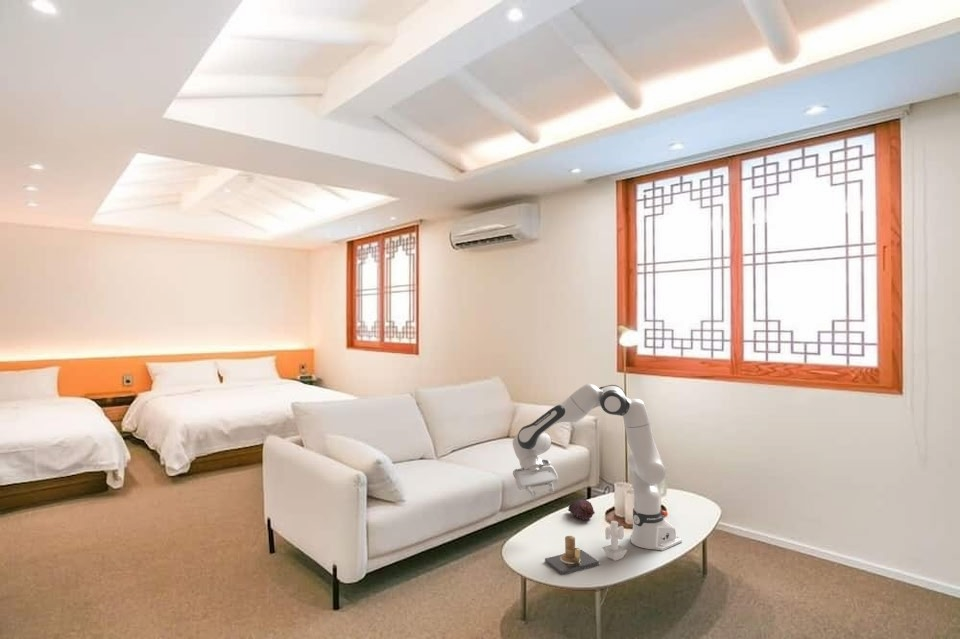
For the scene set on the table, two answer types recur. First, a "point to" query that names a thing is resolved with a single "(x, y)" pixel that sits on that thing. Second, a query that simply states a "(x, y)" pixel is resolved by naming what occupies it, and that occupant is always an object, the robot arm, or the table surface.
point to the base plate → (567, 567)
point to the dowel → (577, 556)
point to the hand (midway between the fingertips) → (543, 494)
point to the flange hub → (569, 549)
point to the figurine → (614, 541)
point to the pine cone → (581, 509)
